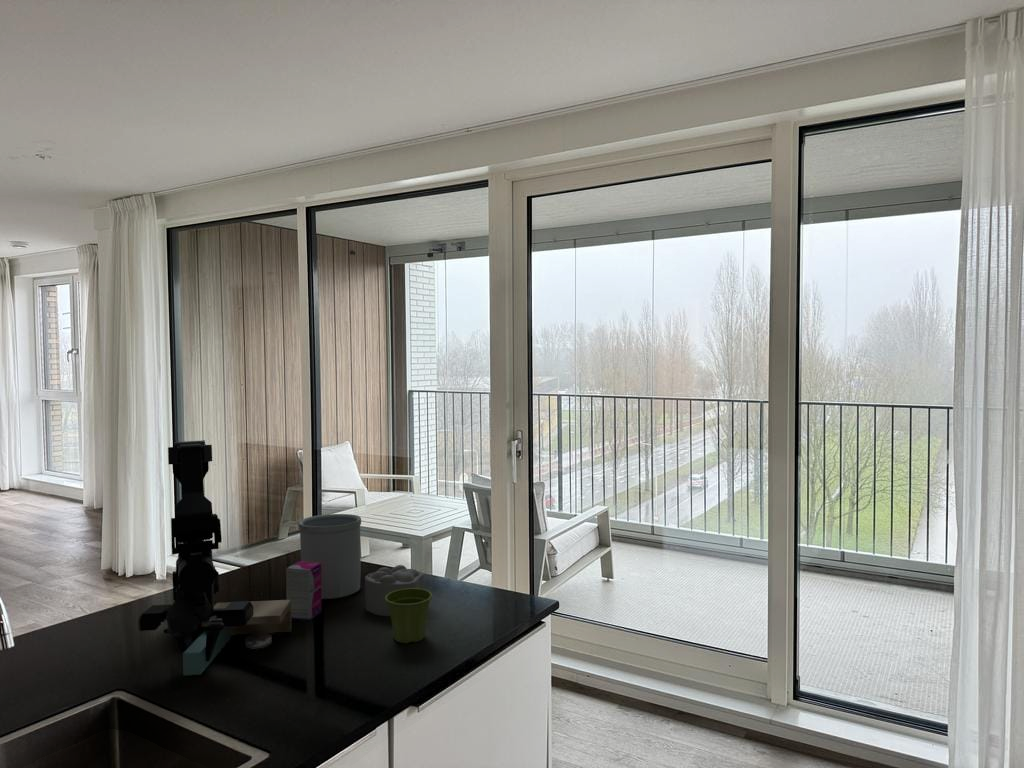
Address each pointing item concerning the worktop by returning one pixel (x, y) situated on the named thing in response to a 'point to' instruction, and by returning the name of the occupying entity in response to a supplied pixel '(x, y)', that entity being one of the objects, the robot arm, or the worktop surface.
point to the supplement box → (304, 590)
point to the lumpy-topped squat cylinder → (389, 586)
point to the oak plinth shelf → (264, 617)
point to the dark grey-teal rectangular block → (203, 652)
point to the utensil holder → (333, 551)
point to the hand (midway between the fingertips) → (198, 661)
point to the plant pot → (409, 613)
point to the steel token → (258, 640)
